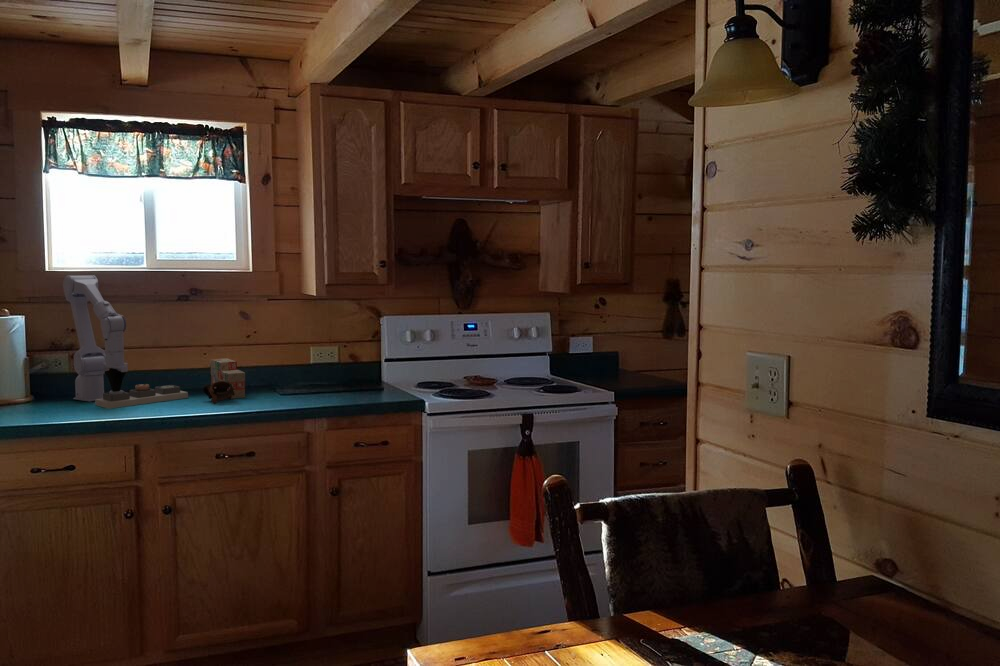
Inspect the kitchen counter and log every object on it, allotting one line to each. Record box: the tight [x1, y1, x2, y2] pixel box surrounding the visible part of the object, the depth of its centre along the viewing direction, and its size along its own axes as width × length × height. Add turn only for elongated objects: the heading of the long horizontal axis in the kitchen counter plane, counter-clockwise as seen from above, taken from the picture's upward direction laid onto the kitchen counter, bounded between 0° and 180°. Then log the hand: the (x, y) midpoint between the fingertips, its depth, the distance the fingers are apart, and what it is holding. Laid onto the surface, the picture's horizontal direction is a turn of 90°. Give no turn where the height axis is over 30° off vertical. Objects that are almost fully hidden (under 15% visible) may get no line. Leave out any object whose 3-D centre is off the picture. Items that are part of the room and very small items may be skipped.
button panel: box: [94, 384, 189, 410], centre depth 278 cm, size 28×10×4 cm, turn 139°
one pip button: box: [161, 385, 174, 389], centre depth 285 cm, size 4×4×2 cm
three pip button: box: [135, 383, 150, 391], centre depth 278 cm, size 4×4×2 cm
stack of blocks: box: [209, 357, 246, 400], centre depth 294 cm, size 21×6×12 cm, turn 35°
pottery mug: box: [202, 381, 235, 405], centre depth 278 cm, size 12×10×8 cm
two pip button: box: [108, 389, 124, 395], centre depth 271 cm, size 4×4×2 cm
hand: (116, 391), depth 271 cm, fingers closed, pressing on two pip button
